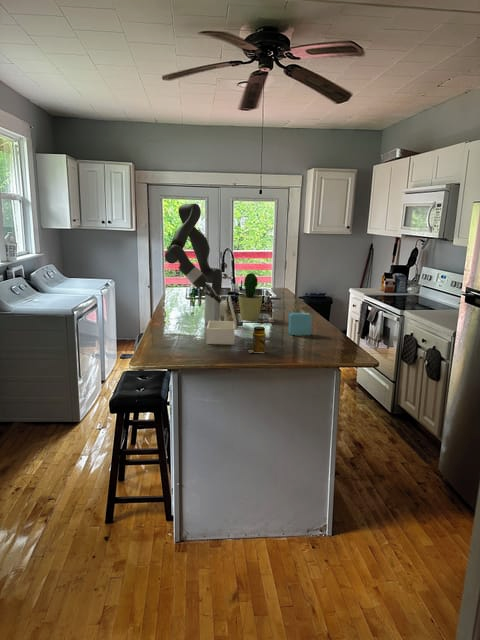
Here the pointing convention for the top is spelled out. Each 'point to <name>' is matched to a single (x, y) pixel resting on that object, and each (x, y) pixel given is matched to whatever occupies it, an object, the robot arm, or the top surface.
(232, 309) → the lid
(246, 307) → the potted cactus
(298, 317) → the data package
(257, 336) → the condiment
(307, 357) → the top surface
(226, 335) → the box
